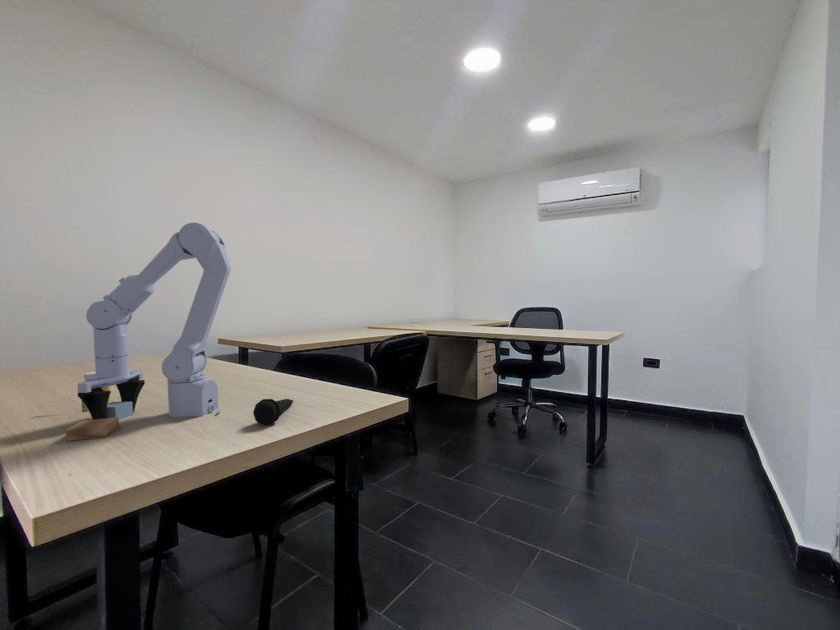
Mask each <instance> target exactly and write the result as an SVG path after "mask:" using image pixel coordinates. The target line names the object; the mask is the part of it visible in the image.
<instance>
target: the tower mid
mask: <svg viewBox="0 0 840 630" xmlns="http://www.w3.org/2000/svg"><path fill="white" fill-rule="evenodd" d="M119 423H120V420H119V418H118V417H114V418H104V419H95V420H93V419H87V420H85V419H84V420H81V421H79V422H77V423H76V424H73V425H72V426H71V427H69V428H67V429H66V430H65V441H66V442H70V441H78V440H90V439H89V438H96V439H99V438H98V437H103V438H105V437H107V436H108V435H111V434H112V433H111V432H113V431H114V430H115V429H117V428H118V427H120V424H119ZM110 433H111V434H110ZM113 433H114V432H113Z"/></svg>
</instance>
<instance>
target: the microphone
mask: <svg viewBox="0 0 840 630" xmlns="http://www.w3.org/2000/svg"><path fill="white" fill-rule="evenodd" d="M292 402H293V403H294V400H293V399H290V398H283V399H280V400H279V399H278V400H275V399H273V398H263V399H261V400H260V401H258V402H257V403H256V404H255V405H254V408H253V412H252V414H253V417H254V420H255V421H256V422H258V423H259V425H261V424H265V425H273V424H274V423H275V422H276V421H278V420H279V419H280V416H281V415H282V413H283V412H284V411H286V410H287V409H289V408H290V407H292V404H293V403H292Z"/></svg>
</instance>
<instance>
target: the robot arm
mask: <svg viewBox="0 0 840 630" xmlns="http://www.w3.org/2000/svg"><path fill="white" fill-rule="evenodd" d="M191 259H196V261H197V262H198V263H199V265H200V266H201V268H202V269H203V271H202V275H201V278H200V281H199V284H198V287H197V289H196V292H195V294H194V298H193V300H192V305H191V307H190V309H189V312H188V315H187V318H186V321H185V324H184V327H183V329H182V332H181V335H180V338H179V339H178V340H177V341H176V343H175V344H174V345H173V347H172V350H171V352H170V353H169V355H167V356H166V357H165V358H164V360H163V361H162V363H161V371H162V375H163V376H164V377H165V378H166V379H167V399H168V416H169V417H170V418H185V417H204V416H206V415H208V414H210V413H213V412H214V411H216V410H217V411H216V413H215V414H214V415H215V416H217V415H218V414H220V413H221V410H218V409H219V395H218V394H219V393H218V386H217V383H216V382H215V380H213V379H207V378H205V373H204V372H203V370H204V369H205V368H206V366H207V362H208V359H207V355H206V354H207V350H208V343H207V340H208V337H209V334H210V331H211V328H212V325H213V322H214V320H215V316H216V313H217V311H218V308H219V305H220V302H221V298H222V297H223V294H224V290H225V288H226V284H227V282H228V279H229V276H230V273H231V265H230V262H229V257H228V254H227V250H226V243H225V241H224V240H223V239H222V238H221V237H220V236H219V234H218V233H217V232H215V231H214V230H211V229H208V228H207V227H206V226H204V225H203V224H202V223H198V222H188V223H185V224H184V225H182V227H181V228H180V230H179V231H177V232H175V233H174V234H172V236H171V237H170V239H169V240H168V241H167V243H166V245H165V246H163V248H162V249H161V250H160V251H159V252H158V253H157V254H156V255H155V256H154V257H153V258H152V259H151V261H150V262H149V263H148V264H147V265H146V266H145V267H144V268H143V269H142V271H140V273H138V274H130V275H127V277H121V278H120V279H119V280H118V283H119V284H118V285H117V286H116V287H115V288H114V289H113V290H112V291H111V292H110V293H109V294H105V295H104V296H103V297H102V299H103V300H100V301H94V302H91V304H90V306H89V308H88V309H87V310H86V314H85V317H86V320H87V322H88V324H89V325H90V326H91V327H92V330H93V350H94V351H93V352H94V367H95V368H94V369H95V370H94V371H95V372H96V377H93V379H91V380H88V381H85V380H84V381H82V382H78V383H77V397H78V398H79V399H80V400H82V401H83V402H84V403H85V405H86V406H87V408H88V410H89V414H90V416H91V420H95V419H104V418H107V403H108V399H109V396H111V393H112V391H111V390H109V391H103V390H102V388H104V387H108V386H109V387H111V386H116V389H117V390H118V393H119V396H120V402H132V406H133V413H135V409H136V405H137V403H138V402H137V401H138V399H139V395H140V393H141V391H142V389H143V387H144V386H145V384H146V383H145V380H144V371H143V370H141V369H139V370H138V369H137V370H131V371H129V370H130V369H129V367H130V365H129V350H128V349H129V347H128V346H129V345H128V332H127V331H128V330H127V329H128V328H127V327H128V325H129V324H130V322H131V320H132V318H133V313H135V312H136V311H137V309H139V308H140V307H141V305H143V304H144V303H145V302H146V301H147V300H148V299H149V298H150V297H151V296H152V295H153V294H154V289H155V287H154V285H155V283H157V282H158V281H159V280H160V279H161V278H163V277H164V275H166V274H167V273H168V272H169V271H170V270H171V269H173V268H174V267H175V266H176V265H177V264H179V262H180V261H184V260H191ZM82 401H81V402H82Z"/></svg>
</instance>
